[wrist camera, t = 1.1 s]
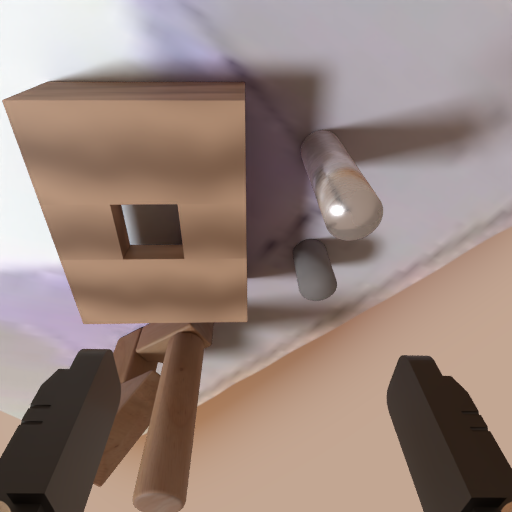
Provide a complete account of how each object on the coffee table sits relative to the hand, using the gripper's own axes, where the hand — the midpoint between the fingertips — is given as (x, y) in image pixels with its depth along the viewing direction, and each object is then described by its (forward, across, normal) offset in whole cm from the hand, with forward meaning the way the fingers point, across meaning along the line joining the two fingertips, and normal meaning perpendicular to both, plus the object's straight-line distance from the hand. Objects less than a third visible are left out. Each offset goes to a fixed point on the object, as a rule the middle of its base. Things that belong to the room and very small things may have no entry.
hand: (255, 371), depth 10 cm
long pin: (+22, -6, 0) cm, 23 cm away
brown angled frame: (+23, +9, +21) cm, 32 cm away
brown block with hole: (+22, +7, +5) cm, 24 cm away
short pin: (+23, -6, +10) cm, 26 cm away
